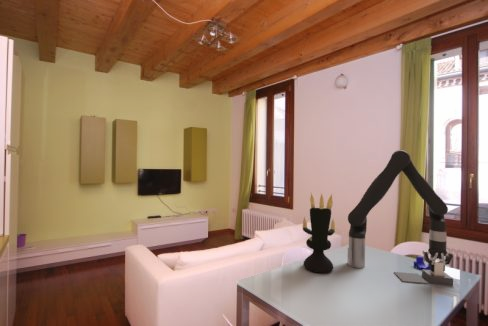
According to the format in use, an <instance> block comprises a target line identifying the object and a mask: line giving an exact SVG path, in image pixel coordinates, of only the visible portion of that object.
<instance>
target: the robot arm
mask: <svg viewBox="0 0 488 326" xmlns="http://www.w3.org/2000/svg"><path fill="white" fill-rule="evenodd" d="M400 173H403V174H404V175H405V176H406V178H407V179H408V181H409V182H410V184H411V185H412V187H413V189H414V190H415V192H417V194H418V195H419V196H420V198H421V200H423V201H425V203H426V204H427V205H428V215H429V231H428V232H429V233H428V249H427V250H422V255H423V259H424V260H425V261H424V262H426V263H428V264H430V270H431V271H432V272H434V262H435V261H436V260H437V259H438V260H439V261H441V262H442V263H444V270H443V273H444V272H445V271H446V266H449V265H450V263H451V261H452V258H453V256H454V254H453V253H451V252H449V251H447V244H448V242H447V238H448V237H447V236H448V235H447V223H446V220H445V215H446V214H447V213H448V210H449V208H448V205H447V204H446V203H445V202H444V201H443V199H442V198H441V197H440V196H439V195H438V194H437V192H436V191H435V190H434V189H433V187H432V186H431V184H429V182H428V181H427V180H426V179H425V178H424V176H423V175H422V174H421V173H420V172H419V170H418V169H417V168H416V166H415V165H414V163H413V162H412V158H411V155H410V154H409V153H408V152H407V151H405V150H402V149H399V150H396V151H394V152H393V153H392V155H391V157H390V159H389V160H388V163H387V164H386V166H385V168H384V169H383V170H382V171H381V172H380V173H379V174H378V175H377V176H376V177H375V178H374V179H373V181H372V182H371V184H370V185H369V187H368V188H367V189H366V191H365V193H363V195H362V196H361V198H360V200H359V202H358V204H356V205H355V207H354V208H353V209H352V210H351V211H350V212H349V214H348V215H347V222H348V223H349V225H350V226H349V231H348V247H347V265H348V266H349V267H351V268H352V267H353V268H356V269H363V268H365V267H366V234H367V225H368V224H367V222H368V219H367V216H368V214H369V213H370V211H372V209H374V208H375V206H377V204H379V202H380V201H382V199H383V198H384V197H385V196H386V194H387V193H388V192H389V190H390V188H391V187H392V185H393V184H394V182H395V180H396V178H397V177H398V175H399V174H400ZM429 255H430V256H429Z"/></svg>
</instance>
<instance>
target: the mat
mask: <svg viewBox="0 0 488 326" xmlns="http://www.w3.org/2000/svg"><path fill="white" fill-rule="evenodd" d="M393 274H394V275H395V276H396V277H397V278H398V279H399V280H400V281H401V282H402V283H411V284H422V285H429V281H427V280H426V279H425V278H424V277H423V276H422V275H420V274H418V273H414V272H402V271H401V272H400V271H394V272H393Z"/></svg>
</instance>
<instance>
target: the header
mask: <svg viewBox="0 0 488 326" xmlns="http://www.w3.org/2000/svg"><path fill="white" fill-rule="evenodd" d="M421 277H422V278H423V279H424V280H425V281H427V282H428V283H430V284H431V285H442V286H443V285H444V286H454V278H453V277H452V276H450V275H449V274H448V273H446V272H445V271H444V273H443V276H437V275H433V274H432V273H431V270H424V269H422V270H421Z"/></svg>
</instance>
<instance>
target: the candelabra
mask: <svg viewBox="0 0 488 326" xmlns="http://www.w3.org/2000/svg"><path fill="white" fill-rule="evenodd" d="M309 198H310V199H309V200H310V207H311V208H309V219H310V228H311V229H310V228H308V224H307V223H308V222H307V220H306V217H305V216H303V221H302V230H303V232H304V233H306V234H307V235H310V237H309V238H308V239H307V240H306V242H305V245H306V246H307V247H308V248H309V249H311V250H313V251H312V253H311V254H310V255H308V256H307V257H306V258H305V259H304V261H303V264H302V265H303V267H304V268H305V269H306V270H308V271H310V272H313V273H318V274H319V273H320V274H326V273H330V272H332V271H333V270H334V264H333V262H332V261H331V259H330V258H329V257H327V256H326V255H325V252H324V251H327V250H330V249H331V247H332V242H331V241H330V240H329V238H328V237H330V236H332V235H334V234H335V232H336V230H335V229H336V224H335V220H334V219H331V218H332V207H333V193H331V194H330V196H329V198H328V200H327V202H326V208H325V203H324V202H325V201H324V197H323V193H321V194H320V198H319V202H318V203H319V207H315V199H314V196H313V193H312V192H310V197H309Z"/></svg>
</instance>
